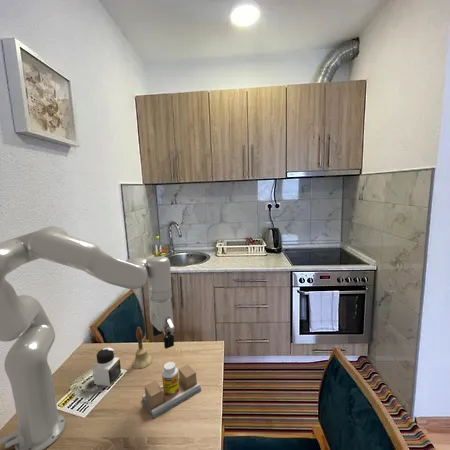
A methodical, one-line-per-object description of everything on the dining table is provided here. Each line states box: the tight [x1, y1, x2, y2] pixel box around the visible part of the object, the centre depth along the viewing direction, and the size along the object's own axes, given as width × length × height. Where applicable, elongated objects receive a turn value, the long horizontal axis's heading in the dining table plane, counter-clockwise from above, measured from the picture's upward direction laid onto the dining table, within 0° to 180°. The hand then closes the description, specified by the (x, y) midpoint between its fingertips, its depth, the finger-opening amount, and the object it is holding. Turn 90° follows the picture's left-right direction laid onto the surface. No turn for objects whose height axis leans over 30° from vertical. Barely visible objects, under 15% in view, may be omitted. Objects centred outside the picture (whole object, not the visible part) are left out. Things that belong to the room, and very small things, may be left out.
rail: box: [142, 364, 202, 419], centre depth 92 cm, size 18×10×6 cm, turn 127°
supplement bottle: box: [161, 361, 179, 397], centre depth 91 cm, size 6×6×10 cm
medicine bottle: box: [91, 347, 122, 387], centre depth 101 cm, size 7×7×12 cm
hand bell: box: [131, 326, 153, 370], centre depth 110 cm, size 8×8×16 cm
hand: (163, 340), depth 89 cm, fingers open, 9 cm apart
